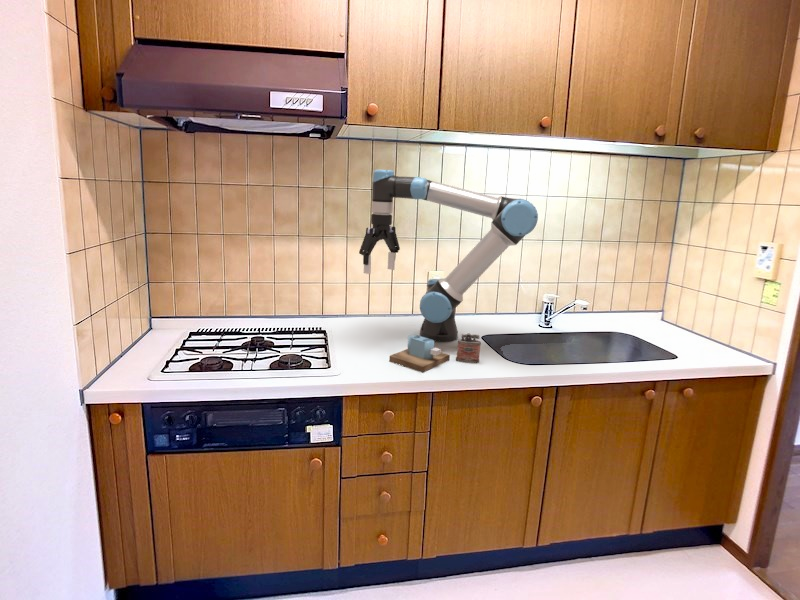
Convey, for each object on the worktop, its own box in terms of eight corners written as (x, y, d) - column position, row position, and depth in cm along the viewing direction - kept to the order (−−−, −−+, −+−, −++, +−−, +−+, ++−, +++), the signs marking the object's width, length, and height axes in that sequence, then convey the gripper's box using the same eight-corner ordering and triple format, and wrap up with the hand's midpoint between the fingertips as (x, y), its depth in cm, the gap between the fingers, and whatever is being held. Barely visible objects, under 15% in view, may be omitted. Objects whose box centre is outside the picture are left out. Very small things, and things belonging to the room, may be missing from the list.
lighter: (455, 361, 173) (458, 334, 171) (456, 358, 176) (458, 331, 174) (479, 363, 172) (481, 336, 170) (479, 360, 175) (481, 333, 173)
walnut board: (417, 350, 182) (417, 345, 182) (449, 360, 174) (449, 354, 174) (389, 361, 170) (389, 355, 170) (422, 372, 162) (422, 366, 161)
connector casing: (412, 350, 176) (412, 334, 175) (441, 359, 169) (442, 342, 167) (405, 353, 173) (406, 336, 172) (434, 362, 166) (435, 345, 164)
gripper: (395, 212, 192) (392, 266, 197) (350, 213, 173) (348, 273, 178) (410, 213, 187) (407, 269, 192) (366, 215, 168) (364, 277, 173)
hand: (379, 271), depth 185 cm, fingers open, 13 cm apart
